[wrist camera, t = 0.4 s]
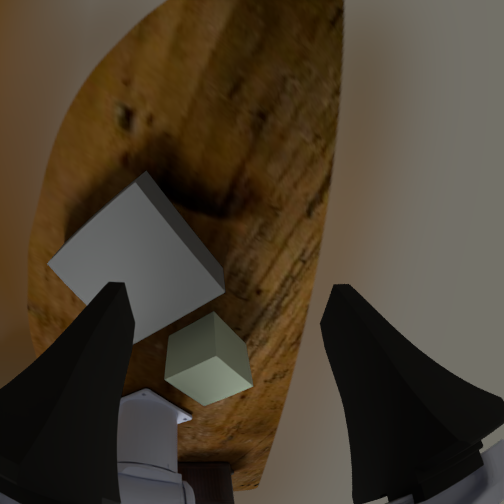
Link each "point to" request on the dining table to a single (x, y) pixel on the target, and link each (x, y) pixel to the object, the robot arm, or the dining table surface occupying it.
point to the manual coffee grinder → (208, 481)
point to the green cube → (208, 361)
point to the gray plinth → (141, 258)
